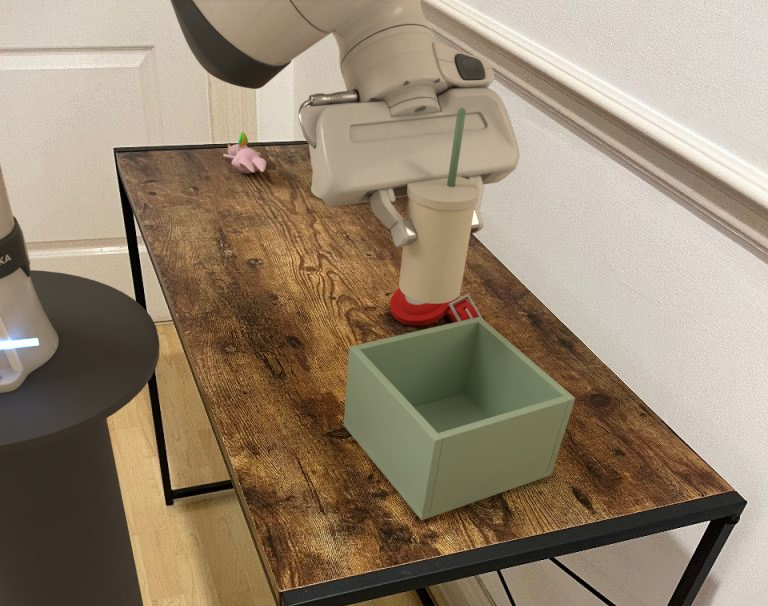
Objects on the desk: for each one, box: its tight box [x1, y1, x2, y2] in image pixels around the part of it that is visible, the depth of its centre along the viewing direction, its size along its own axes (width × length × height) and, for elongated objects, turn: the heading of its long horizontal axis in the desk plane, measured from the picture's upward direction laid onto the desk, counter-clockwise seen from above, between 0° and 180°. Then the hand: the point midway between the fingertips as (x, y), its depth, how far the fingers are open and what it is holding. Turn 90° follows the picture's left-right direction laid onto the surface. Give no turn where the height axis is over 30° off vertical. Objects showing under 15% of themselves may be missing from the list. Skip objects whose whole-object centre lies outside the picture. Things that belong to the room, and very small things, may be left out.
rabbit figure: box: [222, 131, 267, 175], centre depth 126 cm, size 6×6×15 cm
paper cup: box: [398, 108, 479, 304], centre depth 70 cm, size 6×6×16 cm
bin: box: [343, 316, 576, 521], centre depth 77 cm, size 16×16×10 cm
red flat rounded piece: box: [389, 287, 484, 327], centre depth 99 cm, size 12×4×10 cm
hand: (441, 237), depth 71 cm, fingers closed on paper cup, 6 cm apart
